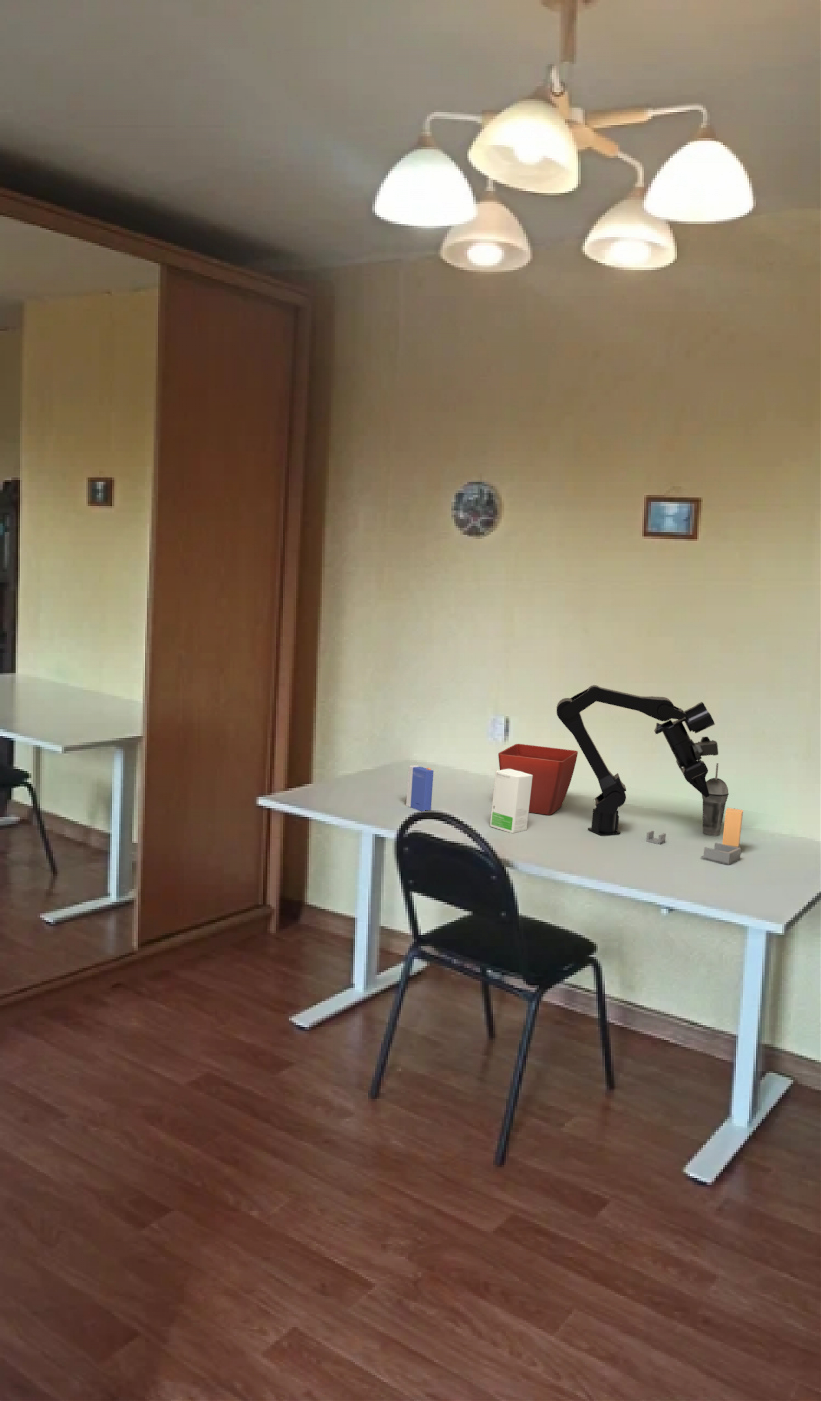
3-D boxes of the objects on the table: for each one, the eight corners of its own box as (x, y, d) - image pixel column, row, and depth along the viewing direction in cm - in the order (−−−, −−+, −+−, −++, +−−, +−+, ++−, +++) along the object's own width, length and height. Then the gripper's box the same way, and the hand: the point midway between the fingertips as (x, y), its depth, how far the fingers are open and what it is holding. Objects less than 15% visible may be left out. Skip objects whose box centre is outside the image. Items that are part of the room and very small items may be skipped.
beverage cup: (725, 832, 313) (732, 761, 310) (724, 838, 306) (730, 766, 303) (698, 828, 315) (705, 758, 312) (696, 834, 308) (703, 763, 305)
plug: (721, 852, 292) (725, 810, 290) (722, 848, 295) (727, 807, 294) (737, 854, 290) (741, 813, 289) (739, 850, 294) (743, 809, 292)
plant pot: (492, 810, 322) (497, 752, 320) (512, 797, 340) (516, 742, 337) (557, 820, 315) (562, 761, 313) (574, 806, 333) (579, 750, 330)
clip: (660, 844, 295) (660, 835, 295) (646, 841, 298) (647, 832, 297) (665, 842, 298) (665, 833, 297) (651, 839, 300) (652, 830, 300)
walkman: (431, 810, 317) (433, 769, 315) (423, 811, 315) (426, 770, 313) (413, 804, 323) (416, 763, 321) (405, 805, 321) (408, 764, 319)
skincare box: (489, 827, 303) (493, 770, 300) (504, 823, 308) (508, 767, 305) (513, 833, 297) (518, 776, 295) (529, 830, 302) (533, 773, 300)
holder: (700, 858, 284) (701, 847, 284) (712, 853, 290) (713, 842, 289) (728, 865, 280) (729, 853, 279) (739, 859, 285) (741, 848, 285)
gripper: (712, 733, 288) (739, 787, 289) (702, 722, 306) (728, 772, 307) (672, 752, 290) (699, 805, 291) (665, 740, 308) (690, 790, 309)
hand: (705, 792), depth 300 cm, fingers open, 9 cm apart
